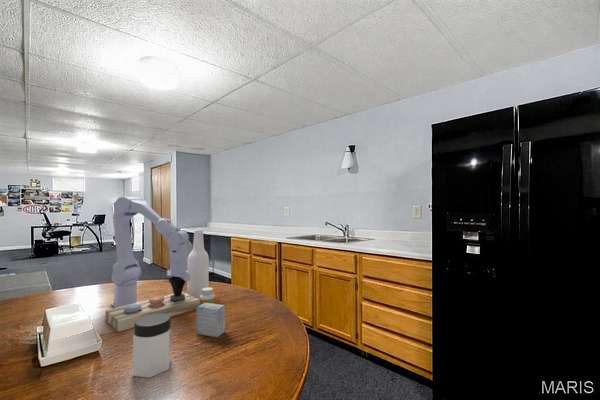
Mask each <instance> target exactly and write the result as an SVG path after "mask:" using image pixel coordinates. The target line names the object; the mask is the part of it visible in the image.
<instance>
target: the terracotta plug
mask: <svg viewBox="0 0 600 400" xmlns="http://www.w3.org/2000/svg"><path fill="white" fill-rule="evenodd" d="M164 296H165V295H164ZM164 296H163V295H156V296H155V295H154V296H152V297H149V298H148V300H149V303H150V304H151V308H155V307H159V306H162V302H163V301H164Z"/></svg>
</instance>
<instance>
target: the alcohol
mask: <svg viewBox="0 0 600 400" xmlns="http://www.w3.org/2000/svg"><path fill="white" fill-rule="evenodd" d="M204 241H205V240H204V229H200V228H198V229H197V228H196V229H194V230H193V243H192V250H191V251H190V253H189V254H188V256H187V271H186V272H187V273H188V274H189V275H190V280H187V281H186V282H187V285H186V288H187V290H186V293H187V294H189V295H191V296H194V297H196V298H199V299H200V296H201V295H202V289H203V288H207V287H209V272H210V271H209V270H210V268H209V266H210V265H209V262H210V259H209V254H208V252H207V251H206V249H205V244H204V243H205V242H204Z"/></svg>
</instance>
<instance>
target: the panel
mask: <svg viewBox="0 0 600 400" xmlns="http://www.w3.org/2000/svg"><path fill="white" fill-rule="evenodd" d="M182 294H185V298H184V299H183V300H182V301H178V302H173V301H171V300H170V296H171V295H174V293H171V294H168V295H164V301H163V302H162V306H159V307H155V308H151V304H150V303H149V299H147V300H142V301H138V303H134V304H140V305H141V310H140V311H139V312H136V313H132V314H128V315H127V314H126V313H125V312H124V307H126V306H128V305H125V306H121V307H117V308H115V307H113V308H110V309H105V321H106V323H108V324H109V325H111V326H112V327H113V328H114V329H115V330H116V331H117V332H118V333H119V332H123V331H126V330H130V329H134V323H135V321H136V320H138V319H139V318H141V317H144V316H147V315H151V314H168V315H170V316H171V317H173V316H177V315H180V314H183V313H186V312H189V311H193V310H197V307H198V306H200V299H199V298H196V297H194V296H191V295H189V294H187V292H185V291H182ZM129 305H133V304H129Z"/></svg>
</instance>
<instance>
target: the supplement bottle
mask: <svg viewBox="0 0 600 400" xmlns="http://www.w3.org/2000/svg"><path fill="white" fill-rule="evenodd" d="M204 303H212V304H216V295H215V294H214V288H213V287H211V286H210V287H209V286H208V287H207V288H203V289H202V295H201V296H200V305H202V304H204Z"/></svg>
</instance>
